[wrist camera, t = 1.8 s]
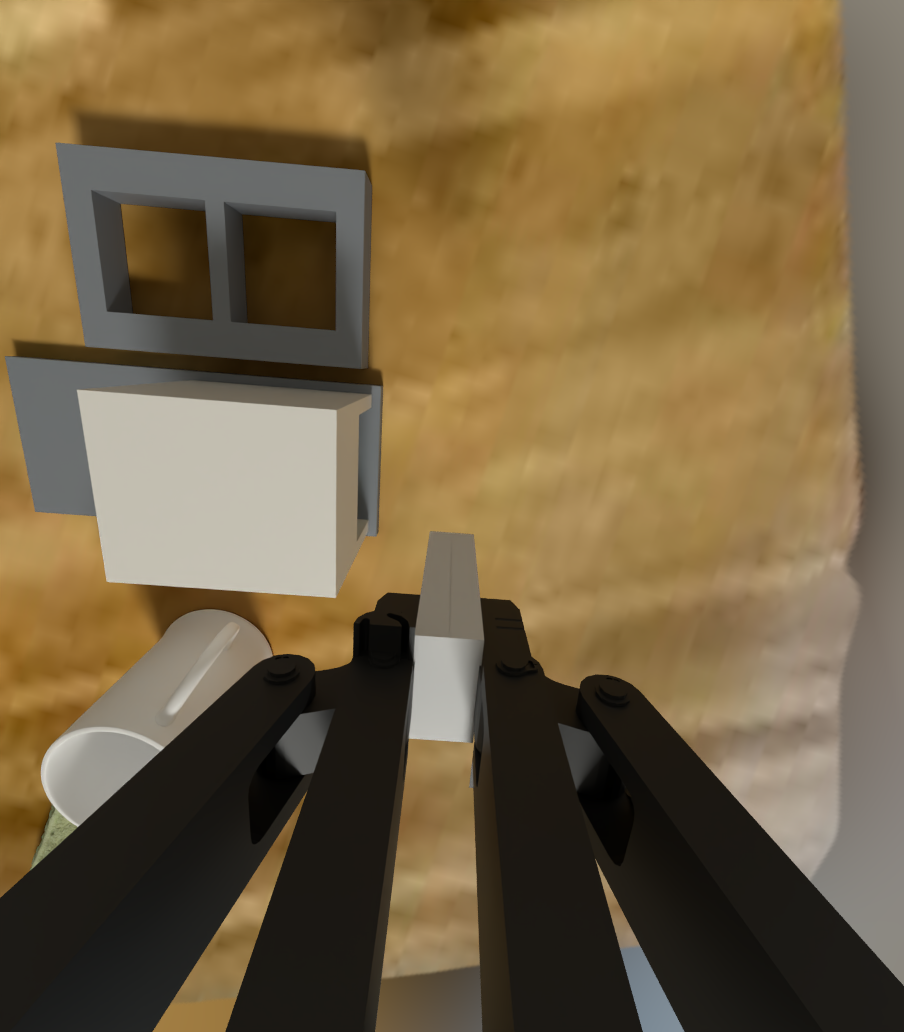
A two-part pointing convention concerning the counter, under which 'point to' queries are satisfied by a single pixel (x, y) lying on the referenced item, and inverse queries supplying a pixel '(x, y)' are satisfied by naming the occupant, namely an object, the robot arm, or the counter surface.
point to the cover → (225, 485)
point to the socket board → (214, 250)
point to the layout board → (54, 383)
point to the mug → (149, 708)
